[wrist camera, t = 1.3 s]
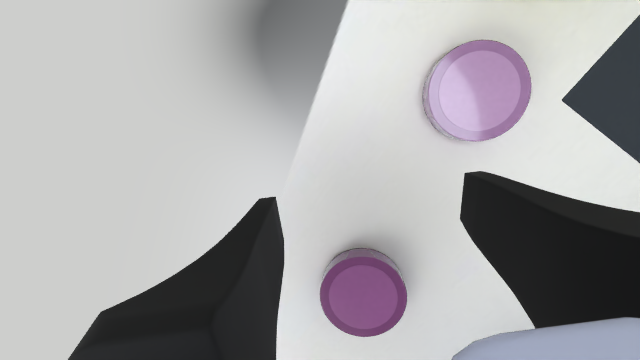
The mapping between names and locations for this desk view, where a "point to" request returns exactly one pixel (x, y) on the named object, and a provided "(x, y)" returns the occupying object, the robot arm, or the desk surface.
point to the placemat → (613, 92)
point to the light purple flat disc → (477, 91)
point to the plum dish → (363, 292)
